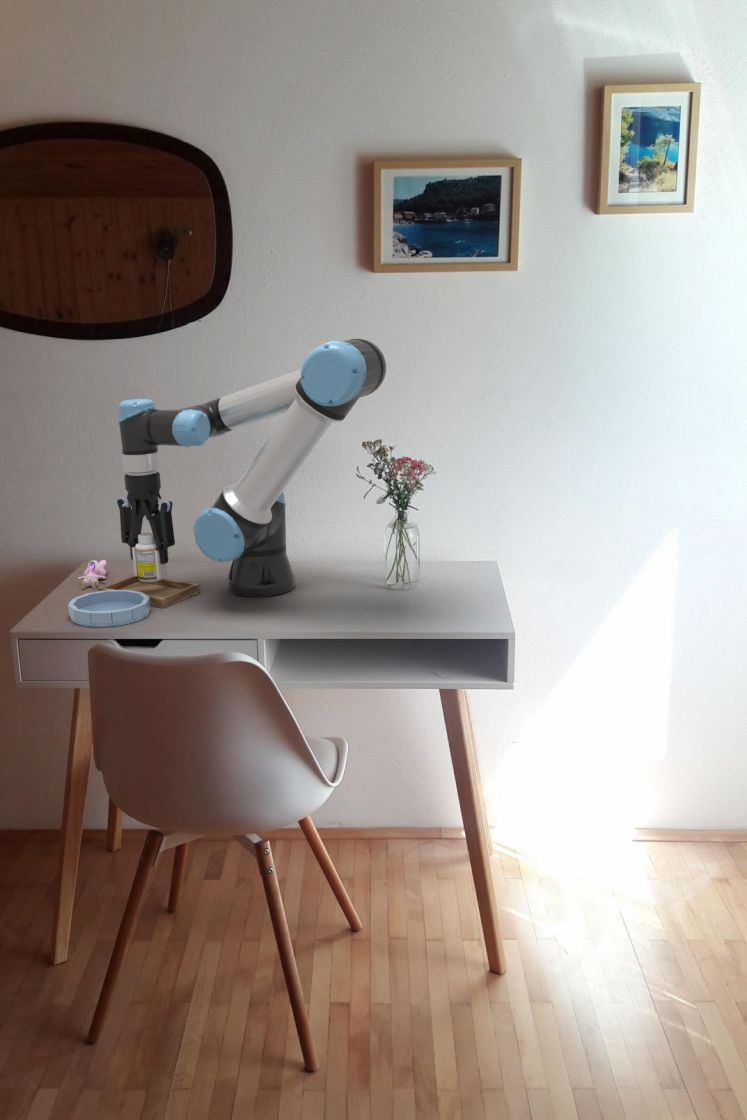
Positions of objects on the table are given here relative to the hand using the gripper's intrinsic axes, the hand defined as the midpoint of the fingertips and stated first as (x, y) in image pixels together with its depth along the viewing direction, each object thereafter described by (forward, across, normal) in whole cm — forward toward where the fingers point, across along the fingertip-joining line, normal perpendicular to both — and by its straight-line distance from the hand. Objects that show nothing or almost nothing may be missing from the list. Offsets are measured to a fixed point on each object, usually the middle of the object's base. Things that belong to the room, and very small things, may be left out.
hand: (150, 575), depth 235 cm
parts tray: (+4, +1, 0) cm, 4 cm away
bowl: (+4, -1, +15) cm, 16 cm away
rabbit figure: (+4, +20, -3) cm, 20 cm away
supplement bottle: (+1, 0, 0) cm, 1 cm away
